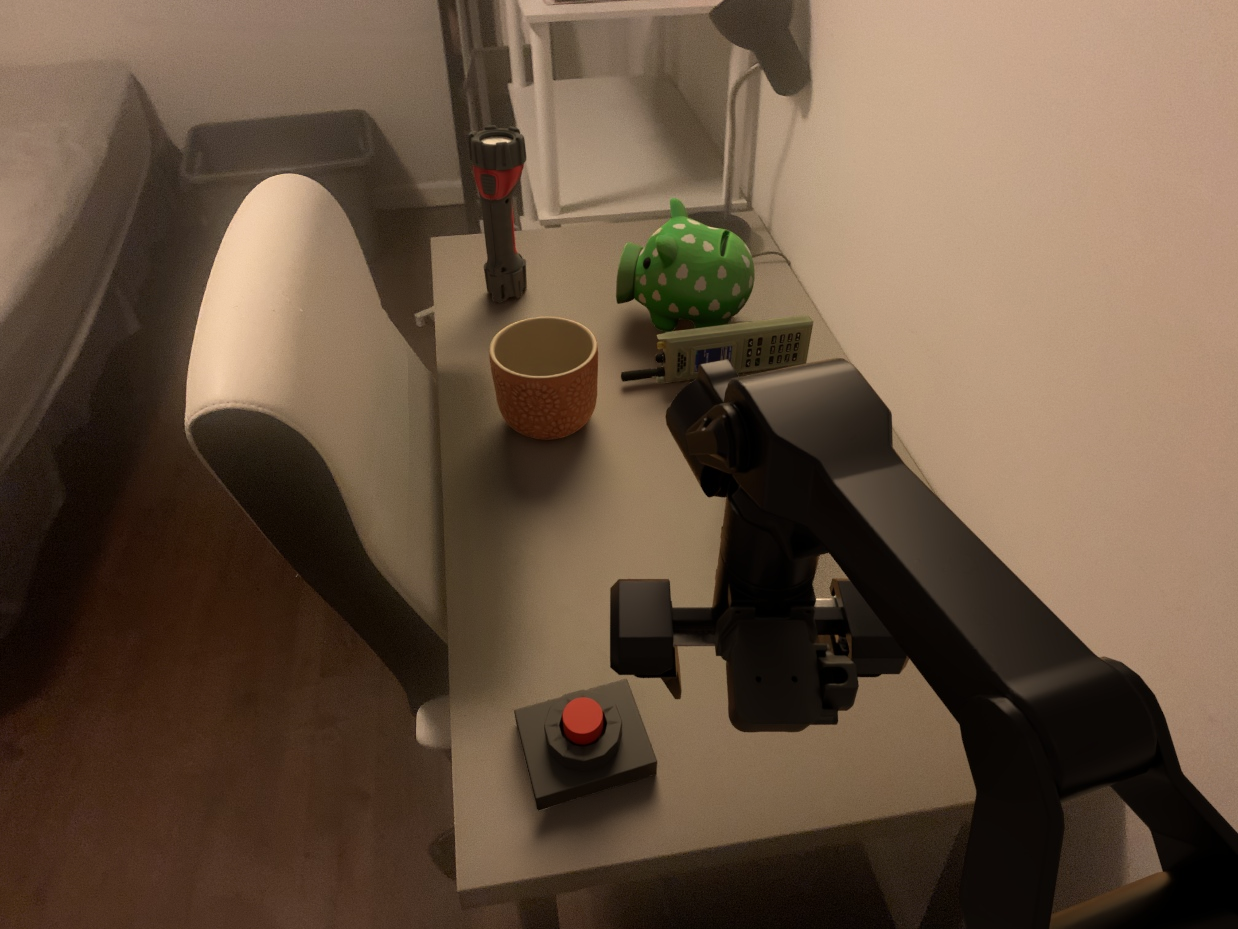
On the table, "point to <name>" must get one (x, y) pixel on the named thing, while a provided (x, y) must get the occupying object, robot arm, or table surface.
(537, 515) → the table surface
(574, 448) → the table surface
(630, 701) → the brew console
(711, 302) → the piggy bank
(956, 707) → the robot arm
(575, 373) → the planter
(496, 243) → the flashlight
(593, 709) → the stop button
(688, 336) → the handheld radio
